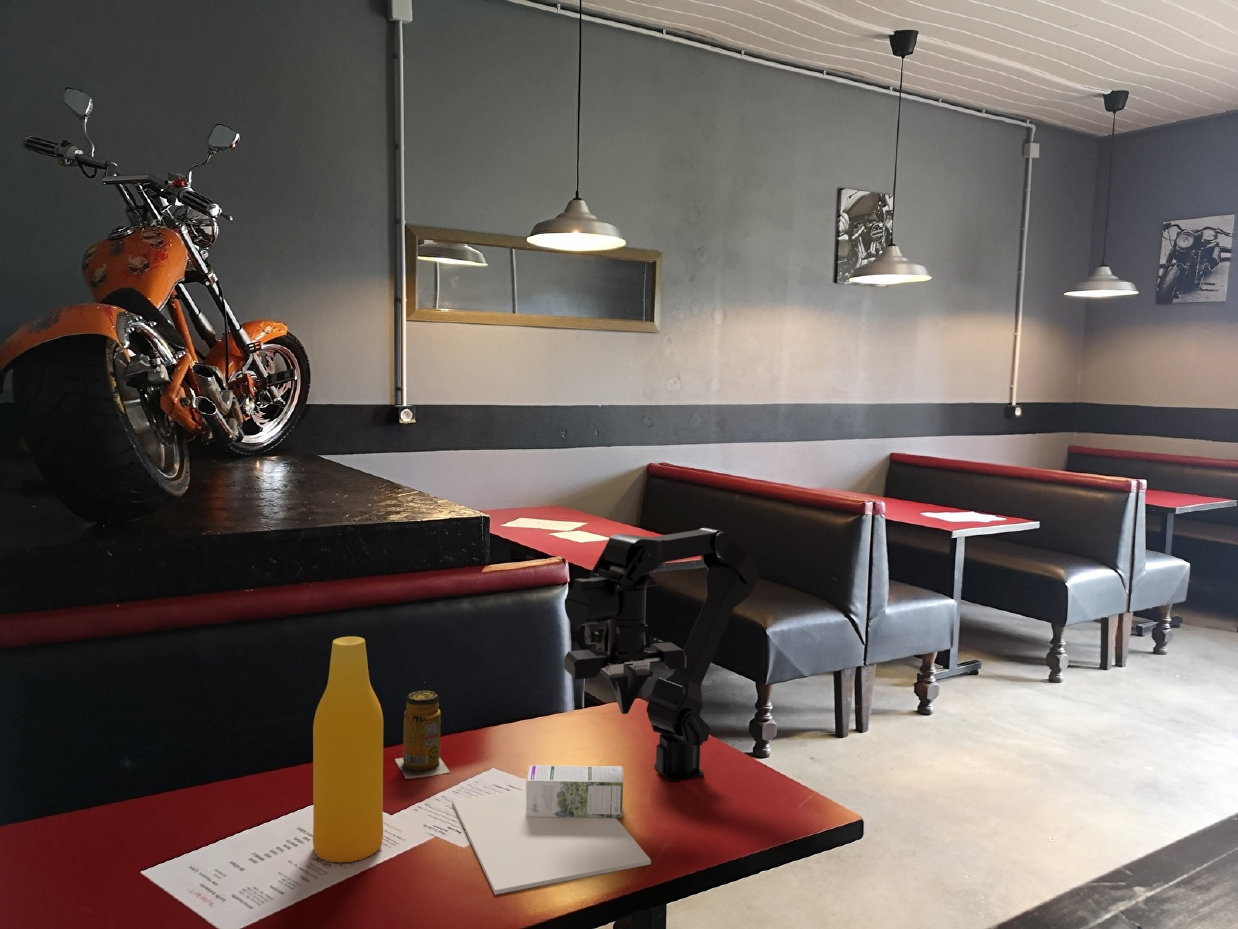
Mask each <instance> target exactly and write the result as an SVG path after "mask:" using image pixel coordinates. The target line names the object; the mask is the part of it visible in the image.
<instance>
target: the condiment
mask: <svg viewBox="0 0 1238 929" xmlns="http://www.w3.org/2000/svg"><path fill="white" fill-rule="evenodd" d="M439 699H440V698H439V695H438V694H437V693H436V692H435V691H431V690H417V691H413V692H411V693H409V694H408V695H407V697H406V705H405V707H406V709H405V711H404V713H403V743H402V746H403V747H402V748H403V749H402V750H403V751H402V755H403V757H399V758H395V759H394V760H395V763H396V764H397V767H398V768H399V770H400V771H401V773H402V775H403V776H404V778H405V779H417V778H425V777H433V776H437V775H443V774H447V773H451V771H450V770H449V768H448V766H446V764H445V762H444V761H443V760H442V758H441V724H442V723H441V722H442V721H441V716H442V715H441V710H440V709H439V705H440V704H439Z"/></svg>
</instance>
